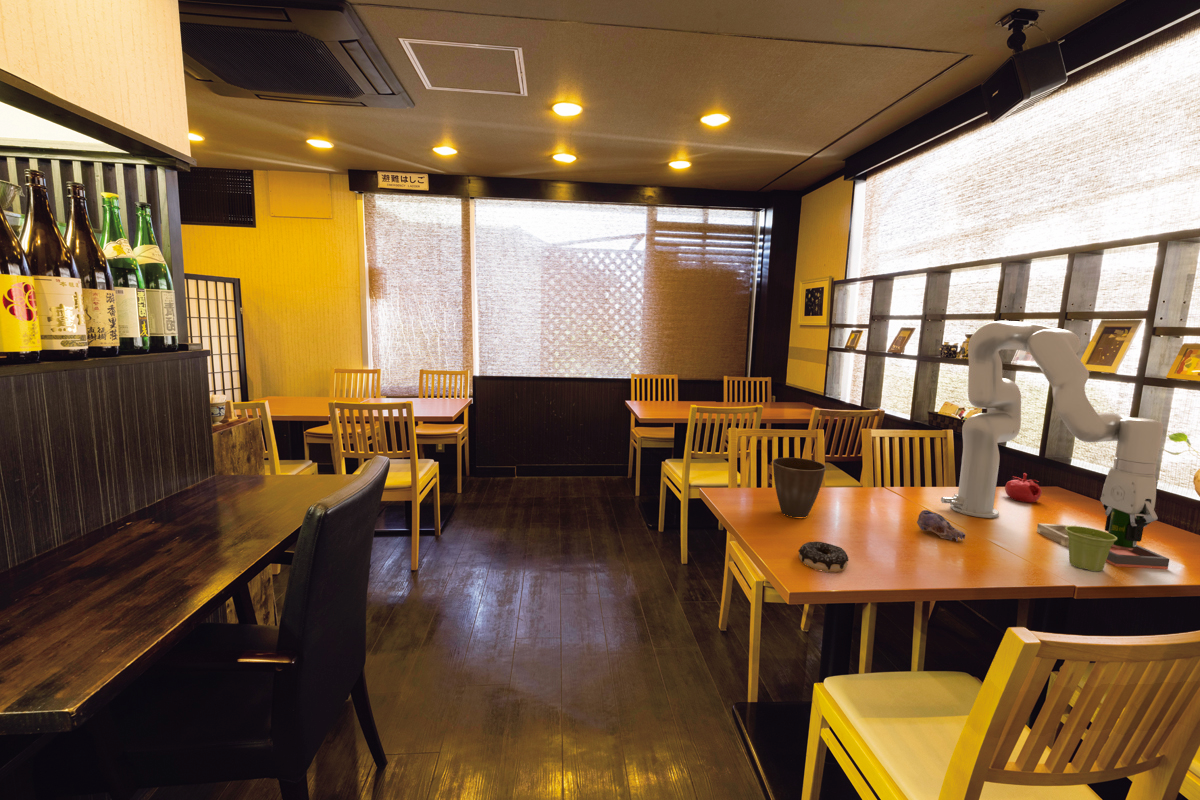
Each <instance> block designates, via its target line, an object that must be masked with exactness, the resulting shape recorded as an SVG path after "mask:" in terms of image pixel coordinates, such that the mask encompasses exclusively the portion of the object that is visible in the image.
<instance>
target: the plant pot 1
mask: <svg viewBox="0 0 1200 800" xmlns="http://www.w3.org/2000/svg"><path fill="white" fill-rule="evenodd" d="M772 467H773V479H774V486H775V492H776V496H777V497H776V498H777V500H778V504H779V507H780V512H781V514H782V513H783V514H785V515H788V516H792V517H806V516H807V517H808V516H809V514H810V512H811V510H812V508H813V506H814V504H815V502H816V500H817V497H818V495H819V492H820V489H821V486H822V484H823V480H824V476H825V473H826V468H827V466H826V465H825V464H824V463H822V462H819V461H816V460H812V459H808V458H802V457H777V458H774V459H773V460H772ZM783 514H782V515H783ZM785 515H784V516H785ZM788 516H787V517H788ZM807 517H806V518H807Z"/></svg>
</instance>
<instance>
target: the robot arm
mask: <svg viewBox="0 0 1200 800" xmlns="http://www.w3.org/2000/svg"><path fill="white" fill-rule="evenodd" d="M1081 344H1082V343H1081V340H1080V338H1079V336H1078V335H1077V334H1076V333H1074V332H1073V331H1071V330H1067V329H1064V328H1063V329H1062V328H1057V327H1051V326H1046V325H1041V324H1037V323H1031V322H1027V321H1011V320H1010V321H1009V320H997V321H991V322H988V323H985V324H984V325H982V326H980V327H978V328H977V329H976V330H975V331H974V332H973V334H972V335H971V336H970V338H969V341H968V345H967V346H968V347H967V356H968V357H967V358H968V375H967V376H968V379H967V380H968V381H967V384H968V385H967V388H968V389H967V395H968V396H967V397H968V402H969V403H970V405H972V406H973V407H975V408H977V409H983V410H984V409H986V411H987V412H981V413H975V414H972V415H971V416H969V417H967V418H966V419H965V421H964V422H963V425H962V428H961V430H962V431H961V433H962V456H961V466H960V474H959V475H960V476H959V482H958V492H957V494H955V493H954V494H953V496H951V497H948V496H942V497H941V498H940V502H941V503H942V504H949V505H950V509H952V510H953V511H955V512H956V513H957V512H958V513H960V514H962V515H966V516H971V517H976V518H985V519H986V518H987V519H993V518H994V519H995V518H998V517H999V516H1000V512H999V511H998V510H997V509H996V508H994V507H995V506H994V504H995V497H996V489H997V484H998V483H997V482H998V474H999V468H1000V467H999V466H1000V450H999V446H998V444H999V443H1007V442H1010V441H1013V440H1014V439H1016V438H1017V437H1018V435H1019V433H1020V432H1021V431H1020V430H1021V426H1022V425H1021V424H1022V419H1021V418H1022V394H1021V391H1020V388H1019V386H1018V384H1016V382H1015V381H1013V380H1011V379H1009V378H1006V377H1005V378H1004V377H1003V362H1002V359H1001V355H1000V353H999V352H1000V351H1001V350H1007V351H1008V350H1009V351H1010V350H1013V351H1022V352H1023V351H1024V352H1027V353H1029V354H1030V355H1031V357H1032V358H1033V361H1034V362H1035V363H1036V365H1038V367H1039V369H1040V371H1041V373H1042V374H1043V375H1044V377H1045V379H1046V380H1047V381H1048V383H1049V385H1050V386H1051V389H1052V399H1053V404H1054V408H1055V410H1056V413H1057V414H1058V416H1059V418H1060V419H1061V420H1062V422H1063V424H1064V426H1065V427H1066V428H1067V430H1068V431H1069V432H1070V433H1071V435H1072V436H1073V437H1074V438H1076V439H1077V440H1078V441H1082V442H1085V443H1102V442H1116V448H1115V453H1114V454H1115V455H1114V459H1113V465H1112V467H1111V468H1110V469H1109V471H1108V473H1107V475H1106V478H1105V481H1104V484H1103V488H1102V492H1101V496H1100V498H1099V500H1100V502H1101V504H1102V505H1103V509H1104V510H1105V512H1104V514H1105V516H1106V521H1105V525H1104V532H1107V533H1108V531H1109V525H1110V519H1111V512H1112V508H1115V509H1117V510H1119V511H1122V512H1124V513H1127V514H1130V522H1131V525H1128V528H1127V533H1126V540H1128V541H1137V543H1138V542H1141V541H1142V539H1143V534H1144V528H1146V527H1148V525H1149V524H1151V523H1153V522H1154V521H1155V522H1156V521H1157V520H1158V516H1157V513H1156V512H1155V507H1156V500H1157V499H1156V498H1157V478H1156V476H1155V475H1156V471H1157V466H1158V465H1157V464H1158V459H1159V454H1160V453H1159V452H1160V448H1161V443H1162V438H1163V431H1164V424H1163V423H1162V422H1161V421H1159V420H1156V419H1152V418H1146V417H1133V416H1132V417H1131V416H1126V415H1122V414H1120V413H1114V412H1106V411H1105V412H1097V411H1096V410H1095V408H1094V406H1092V404H1091V402H1090V400H1089V399H1088V397H1087V394H1086V390H1085V388H1086V383H1087V382H1088V380H1089V377H1090V372H1089V370H1088V369H1087V367H1086V365H1084V363H1083V362H1082V360H1081V359H1080V357H1079V356H1078V355H1077V354H1078V353H1079V351H1080V349H1081ZM1139 513H1140V514H1139ZM1136 516H1139V519H1138V520H1137V517H1136Z"/></svg>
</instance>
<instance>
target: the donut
mask: <svg viewBox="0 0 1200 800" xmlns="http://www.w3.org/2000/svg"><path fill="white" fill-rule="evenodd" d="M798 557H799V559H800V562H801V563H802V562H803V563H804V564H803V563H802V564H803V565H805V564H806V565H808V566H810V567H812V568H814V569H813V570H815V569H817V570H816V571H818V570H822V571H828V572H827V573H839V572H842V571H843V570H845V569H846V568H847V566H848V565H849V564H848V562H849V561H850V560H849V556H848V554H847V552H846V551H845V550H844V548H842V547H841V546H837V545H834V544H831V543H827V542H824V541H808V542H805V543H803V544H802V545H801V546H800V548H799V549H798ZM806 565H805V566H806ZM808 566H807V567H808ZM810 567H809V568H810ZM812 568H811V569H812ZM822 571H821V572H822Z"/></svg>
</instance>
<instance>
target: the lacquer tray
mask: <svg viewBox="0 0 1200 800" xmlns="http://www.w3.org/2000/svg"><path fill="white" fill-rule="evenodd" d="M1105 563H1108V564H1110V565H1112V566H1115V567H1125V568H1126V567H1128V568H1142V569H1143V568H1144V569H1158V570H1159V569H1160V570H1168V569H1169V564H1170V558H1168V557H1166V556H1163V555H1161V554H1159V553H1157V552H1154V551H1152V550H1150V549H1148V548H1145V547H1143V546H1141V545H1138V544H1136V548H1135V549H1134V550H1123V549H1118V548H1115V547H1112V546H1111V548H1110V551H1109V554H1108V556H1107V559H1106V562H1105Z"/></svg>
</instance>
